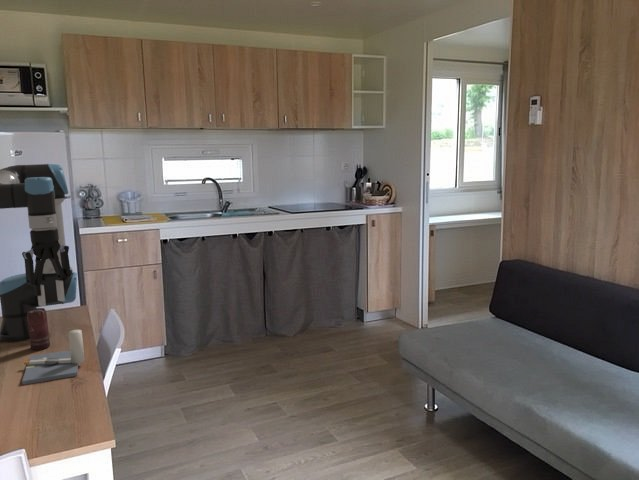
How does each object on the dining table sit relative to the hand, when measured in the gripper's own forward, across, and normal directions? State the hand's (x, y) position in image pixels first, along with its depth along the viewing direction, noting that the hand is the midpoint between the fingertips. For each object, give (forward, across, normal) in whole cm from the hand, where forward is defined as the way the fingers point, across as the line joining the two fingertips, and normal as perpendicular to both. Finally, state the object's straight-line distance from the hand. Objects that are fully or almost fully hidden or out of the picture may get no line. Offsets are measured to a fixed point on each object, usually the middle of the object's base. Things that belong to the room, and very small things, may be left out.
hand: (52, 303), depth 163 cm
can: (+23, +10, +27) cm, 37 cm away
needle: (+21, +2, +6) cm, 22 cm away
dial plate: (+23, +2, +6) cm, 24 cm away
